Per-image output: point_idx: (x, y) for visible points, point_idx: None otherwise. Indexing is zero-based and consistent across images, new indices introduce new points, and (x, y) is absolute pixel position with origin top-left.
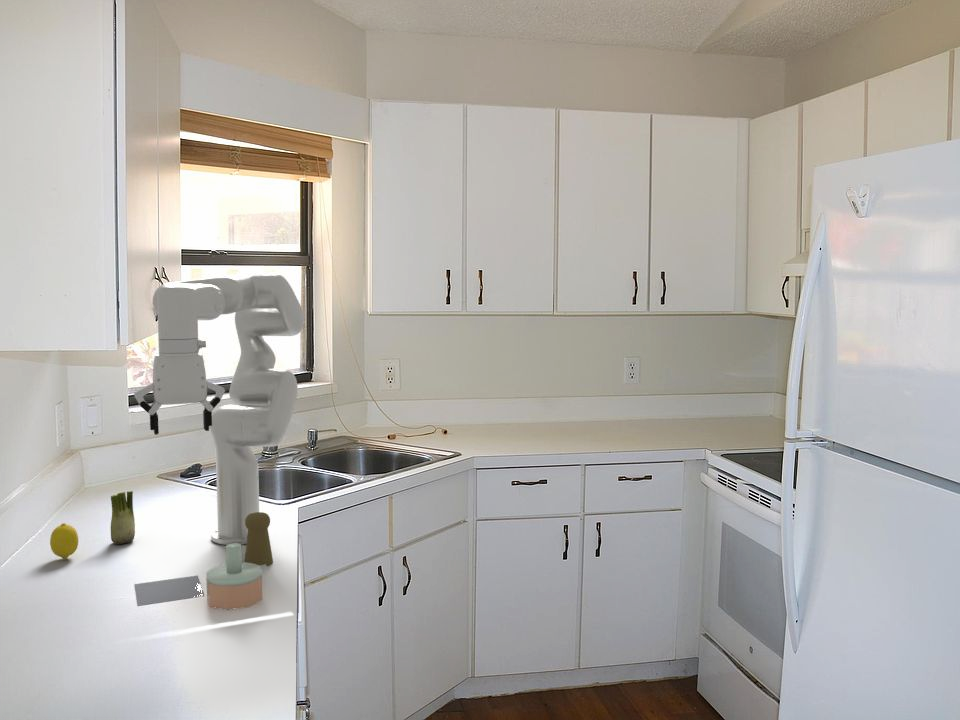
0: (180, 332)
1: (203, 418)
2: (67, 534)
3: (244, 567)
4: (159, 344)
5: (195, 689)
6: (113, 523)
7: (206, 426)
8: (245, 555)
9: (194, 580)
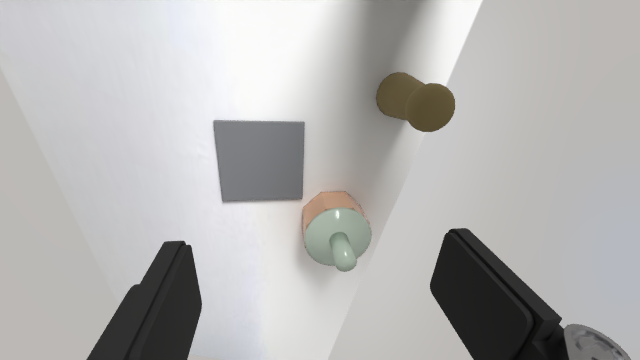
0: None
1: (482, 276)
2: None
3: (353, 231)
4: None
5: (271, 347)
6: None
7: (444, 306)
8: (383, 96)
9: (297, 141)
